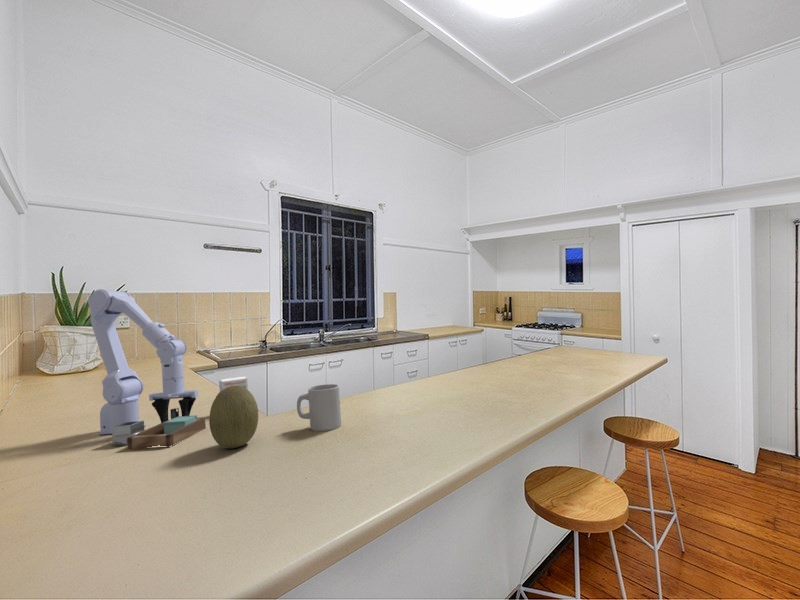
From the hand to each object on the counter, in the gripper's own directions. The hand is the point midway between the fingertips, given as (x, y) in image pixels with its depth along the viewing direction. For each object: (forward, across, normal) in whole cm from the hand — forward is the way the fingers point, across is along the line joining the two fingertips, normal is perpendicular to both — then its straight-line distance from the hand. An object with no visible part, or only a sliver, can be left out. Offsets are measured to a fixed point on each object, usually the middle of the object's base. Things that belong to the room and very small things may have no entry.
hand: (175, 422), depth 115 cm
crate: (+2, +6, -6) cm, 9 cm away
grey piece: (+1, -4, -13) cm, 14 cm away
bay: (+1, +6, -12) cm, 13 cm away
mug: (+2, +48, -10) cm, 49 cm away
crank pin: (+1, 0, 0) cm, 1 cm away
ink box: (+2, +12, +14) cm, 19 cm away
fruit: (+2, +30, -22) cm, 37 cm away
